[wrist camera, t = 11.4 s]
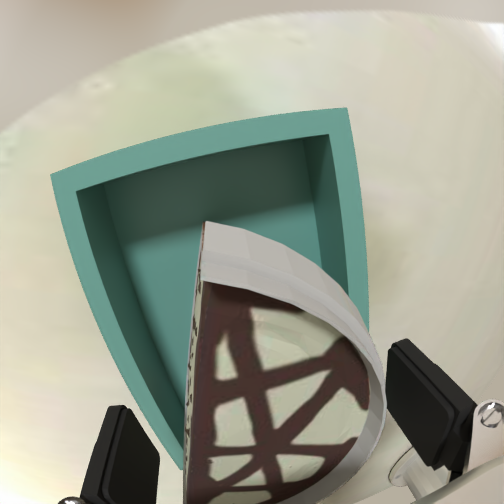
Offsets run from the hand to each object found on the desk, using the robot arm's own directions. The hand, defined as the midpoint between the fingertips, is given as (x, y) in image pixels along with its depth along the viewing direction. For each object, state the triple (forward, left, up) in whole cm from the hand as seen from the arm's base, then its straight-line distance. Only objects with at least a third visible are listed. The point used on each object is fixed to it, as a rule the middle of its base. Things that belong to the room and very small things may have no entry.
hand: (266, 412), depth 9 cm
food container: (0, 0, -8) cm, 8 cm away
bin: (0, 0, -8) cm, 8 cm away
